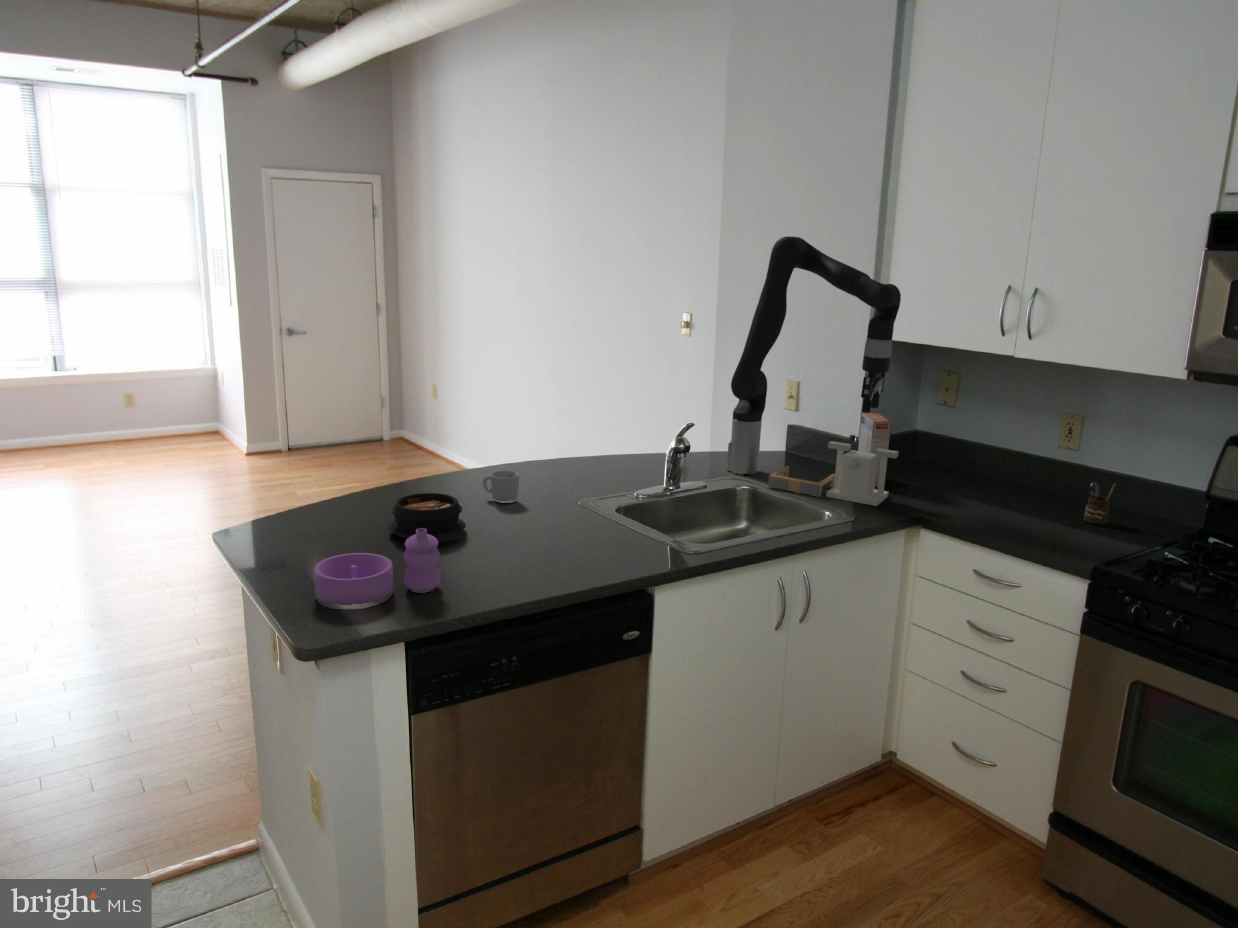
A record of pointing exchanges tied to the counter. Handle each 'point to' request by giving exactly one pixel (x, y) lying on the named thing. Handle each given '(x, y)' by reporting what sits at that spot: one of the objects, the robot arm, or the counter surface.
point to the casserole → (428, 516)
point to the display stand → (859, 474)
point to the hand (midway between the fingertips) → (870, 410)
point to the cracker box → (874, 436)
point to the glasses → (797, 483)
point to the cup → (503, 485)
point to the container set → (376, 572)
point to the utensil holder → (1097, 508)
